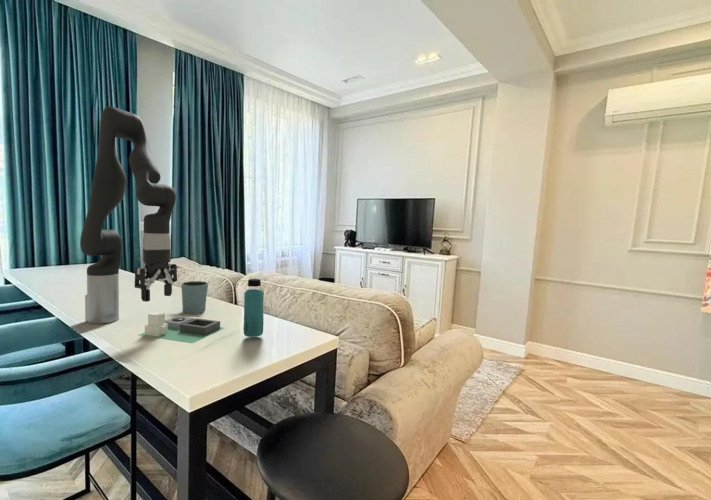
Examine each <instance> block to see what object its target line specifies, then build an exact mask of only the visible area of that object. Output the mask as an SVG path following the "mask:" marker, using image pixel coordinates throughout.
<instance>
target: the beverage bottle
mask: <svg viewBox="0 0 711 500" xmlns="http://www.w3.org/2000/svg"><path fill="white" fill-rule="evenodd" d="M261 282H262V281H261V279H259V278H250V279H248V280H247V286H248V287H250V288H247V290H245V292H244V298H243V299H244V303H243V332H242V333H243V335H244V336H245V337H248V338H256V337H260V336H262V335H263V333H264V301H265V299H264V296H265V295H264V294H265V292H264V291H263V290H262V289H261V288H258V287H261V286H262V283H261ZM251 287H254V288H251Z"/></svg>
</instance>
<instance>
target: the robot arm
mask: <svg viewBox="0 0 711 500" xmlns="http://www.w3.org/2000/svg"><path fill="white" fill-rule="evenodd" d="M100 116H101V117H100V121H99V135H98V148H97V156H96V162H95V167H94V172H93V177H92V182H91V191H90V198H89V205H88V209H87V213H86V217H85V220H84V224H83V227H82V231H81V235H80V240H79V241H80V243H79V245H80V246H79V247H80V250H81V252H82V254H83V255H85V256H88V257H89V256H90V257H92V256H93V257H94V256H95V257H97V256H98V257H99V256H101V257H100V259H99V260H97V262H94V263H92V264H90V265H88V266H87V268H86V294H85V296H84V306H85V308H84V309H85V310H84V311H85V313H84V315H85V317H84V318H85V322H87V323H88V324H94V325H98V324H108V323H112V322H117V321H118V320H120V319H119V318H120V294H119V293H120V290H119V289H120V283H119V282H120V279H119V277H120V276H119V274H120V267H121V265H122V263H121V261H122V247H123V246H122V244H123V243H122V236H121V234H120V233H119V231H117V230H115V229H103V226H104V224H105V221H106V219H107V217H108V216H109V215H110V214H111V213H112V212H113V210H115V208H116V207H117V206H118V205H119V204H120V203H121V201H122V200H123V199H124V196H125V192H126V186H127V181H128V180H127V175H126V172H125V170H124V168H123V166H122V164H121V161H120V160H119V158H118V155H117V152H116V138H118V139H122V140H126V141H130V142H131V143H132V145H133V146H134V147H133V149H132V150H131V152H130V154H129V155H128V163H129V167H130V170H131V172H132V174H133V176H134V180H135V186H136V188H135V189H136V190H135V191H136V200H138V202H139V203H140V204H141V205H142V206H143V205H144V206H146V207H147V206H148V207H159V208H158V210H157V212H155V213H148V214H146V215H144V216H143V237H142V261H143V263H144V268H143V267H142V268H141V267H136V268H135V270H134V288H135V289H140V290H141V291H140V297H141V301H142V302H146V303H147V302H150V301H151V289H150V288H151V286H152V285H153V284H154V283H155V281H159V280H161V281H162V282H163V295H164V296H165V297H170V296H172V295H173V294H172V293H173V284H174V283H175V282H178V269H177V264H175V263H170V262H171V258H172V257H171V255H172V253H171V252H172V251H171V249H172V248H171V247H172V246H171V245H172V243H171V235H170V234H171V232H170V229H171V227H170V226H171V225H170V222H171V217H172V213H173V210H174V207H175V203H176V200H177V194H176V191H175V189H174V188H173V187H172V186H171V185H168V184H162V183H159V182H160V181H161V173H160V171H159V169H158V167H157V165H156V163H155V161H154V158H153V156H152V154H151V150H150V146H149V145H150V144H149V141H148V136H147V133H146V128H145V124H144V122H143V120H142V119H141V117H140V116H139V115H137V114H135V113H133V112H130V111H126V110H124V109H121V108H118V107H115V106H111V105H109V106H108V105H107V106H106V107H105V108H103V111H102V112H101V115H100Z"/></svg>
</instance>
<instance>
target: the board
mask: <svg viewBox="0 0 711 500" xmlns="http://www.w3.org/2000/svg"><path fill="white" fill-rule="evenodd" d="M165 323H167V324H168V333H166V334H164V335H161V336H151V335H145V332H142V333H140V334H138V336H142V337H146V338H147V337H149V338H156V339H161V340H168V341H174V342H180V343H189V344H194V343H197V342H198V341H201V340H203V339H205V338H207V337H209V336H211V335H213V334H215V333H218V332H220V331H221V330H224V329H225V327H221V320H213V319H205V318H197V317H196V318H194V317H188V316H181V315H177V316H174V317H171V318H168V319H165Z"/></svg>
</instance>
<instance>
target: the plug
mask: <svg viewBox="0 0 711 500" xmlns="http://www.w3.org/2000/svg"><path fill="white" fill-rule="evenodd" d="M165 320H166V313H165V312H164V313H163V312H157V311H156V312H155V311H154V312H151V313H148V314H147V324H144V333H145V335H151V336H161V335H164V334H166V333H168V324H167V323H165Z"/></svg>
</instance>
